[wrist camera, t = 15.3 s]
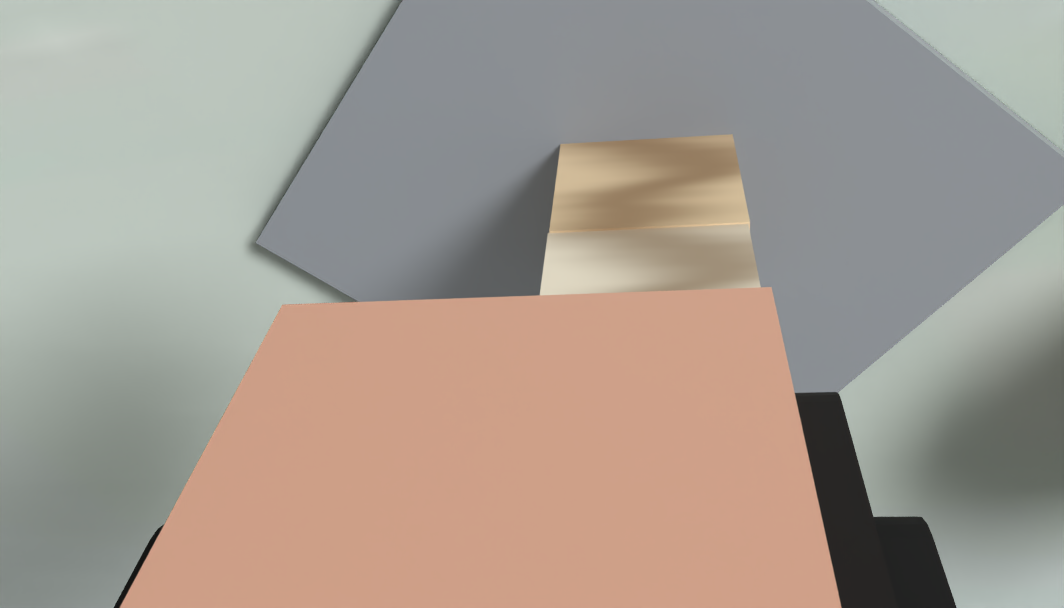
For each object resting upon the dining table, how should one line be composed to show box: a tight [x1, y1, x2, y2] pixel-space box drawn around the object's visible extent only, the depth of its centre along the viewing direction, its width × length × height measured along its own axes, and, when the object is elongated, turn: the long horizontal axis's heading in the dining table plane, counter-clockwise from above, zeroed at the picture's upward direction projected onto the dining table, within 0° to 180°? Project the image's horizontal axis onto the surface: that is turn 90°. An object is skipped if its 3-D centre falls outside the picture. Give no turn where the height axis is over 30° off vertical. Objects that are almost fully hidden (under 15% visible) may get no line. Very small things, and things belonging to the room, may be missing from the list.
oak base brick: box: [549, 134, 750, 233], centre depth 28 cm, size 5×5×5 cm
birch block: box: [540, 224, 761, 295], centre depth 24 cm, size 5×5×5 cm
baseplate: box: [256, 0, 1064, 393], centre depth 30 cm, size 19×17×1 cm
